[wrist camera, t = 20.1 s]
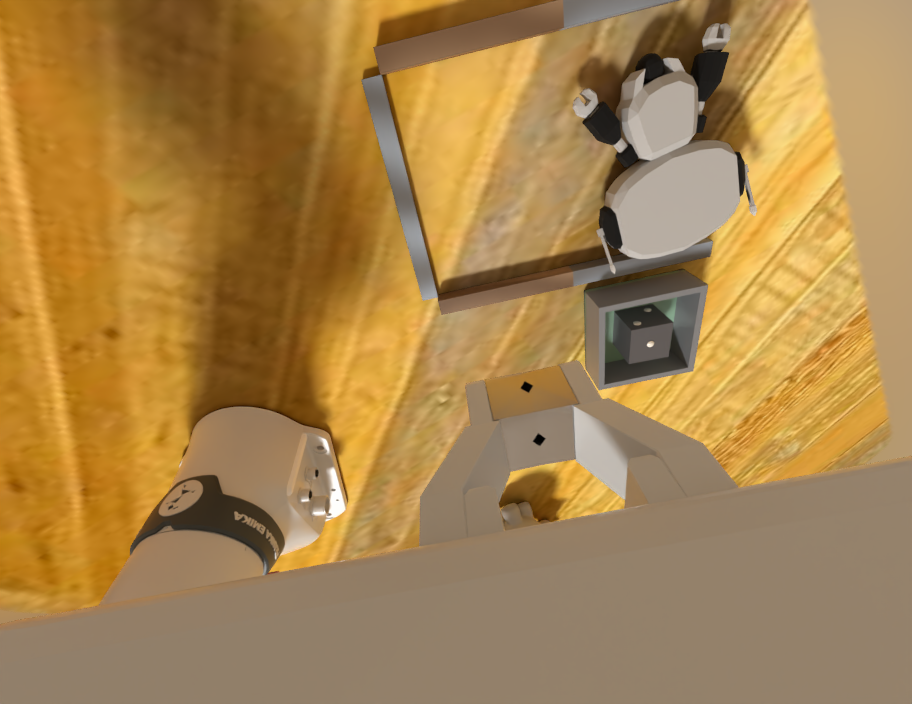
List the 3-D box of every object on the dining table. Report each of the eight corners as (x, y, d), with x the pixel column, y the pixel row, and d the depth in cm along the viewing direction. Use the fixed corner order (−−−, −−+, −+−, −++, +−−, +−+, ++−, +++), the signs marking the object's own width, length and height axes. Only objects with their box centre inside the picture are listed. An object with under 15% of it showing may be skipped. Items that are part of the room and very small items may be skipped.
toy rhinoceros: (523, 519, 64) (548, 573, 59) (476, 522, 56) (500, 585, 51) (554, 497, 62) (584, 551, 56) (509, 497, 53) (539, 561, 48)
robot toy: (553, 99, 31) (598, 267, 38) (570, 94, 27) (617, 282, 34) (710, 19, 29) (727, 212, 36) (754, 1, 25) (763, 221, 32)
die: (649, 336, 42) (669, 356, 39) (612, 343, 42) (628, 364, 39) (653, 303, 40) (674, 322, 36) (614, 310, 40) (631, 330, 37)
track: (700, 251, 38) (710, 256, 36) (426, 311, 39) (426, 318, 38) (746, -46, 26) (762, -53, 25) (355, 54, 27) (352, 52, 26)
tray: (672, 350, 44) (693, 370, 41) (585, 368, 44) (598, 390, 41) (683, 268, 38) (708, 284, 35) (583, 290, 39) (599, 308, 36)
